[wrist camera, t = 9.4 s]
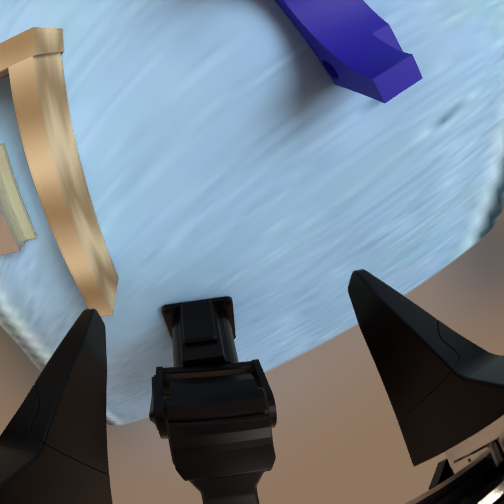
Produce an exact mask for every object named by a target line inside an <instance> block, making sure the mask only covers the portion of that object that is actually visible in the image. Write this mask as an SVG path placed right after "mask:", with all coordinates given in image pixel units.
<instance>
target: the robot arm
mask: <svg viewBox="0 0 504 504" xmlns="http://www.w3.org/2000/svg"><path fill="white" fill-rule="evenodd" d="M348 293H349V296H350V299H351V302H352V305H353V308H354V311H355V314H356V317H357V321H358V324H359V326H360V329H361V332H362V334H363V336H364V339H365V341H366V343H367V345H368V347H369V350H370V352H371V355H372V357H373V360H374V362H375V364H376V367H377V369H378V371H379V374H380V376H381V379H382V381H383V384H384V386H385V389H386V392H387V394H388V397H389V399H390V401H391V404H392V407H393V409H394V412H395V415H396V418H397V420H398V423H399V426H400V429H401V431H402V434H403V437H404V440H405V443H406V446H407V448H408V452H409V454H410V457H411V460H412V463H413V465H414V466H416V465H419V464H421V463H423V462H425V461H427V460H429V459H431V458H433V457H435V456H437V455H439V454H441V453H443V452H445V455H446V457H447V458H446V459H444V460H442V461H441V462H439V463H438V465H437V468H436V471H435V474H434V476H433V479H432V481H431V484H430V486H429V491H427V492H425V493H424V494H422V495H420V496H418V497H417V498H415V499H413V500H411V501H410V502H407V503H405V504H504V356H499V355H495V354H492V353H489V352H487V351H486V350H484V349H482V348H481V347H479V346H477V345H476V344H474V343H472V342H471V341H469V340H467V339H466V338H464V337H463V336H461V335H460V334H458V333H456V332H455V331H453V330H452V329H450V328H449V327H448V326H446V325H445V324H443V323H442V322H440V321H439V320H436V318H435V317H433V316H432V315H430V314H429V313H428V312H426V311H425V310H423V309H422V308H420V307H419V306H418V305H416V304H415V303H413V302H412V301H410V300H409V299H407V298H406V297H405V296H403V295H402V294H400V293H399V292H397V291H396V290H394V289H393V288H391V287H390V286H388V285H387V284H385V283H384V282H382V281H381V280H379V279H378V278H376V277H375V276H373V275H372V274H370V273H369V272H367V271H366V270H364V269H361V270H355V271H353V273H352V275H351V279H350V282H349V285H348ZM162 313H163V316H164V319H165V322H166V324H167V327H168V330H169V332H170V335H171V338H172V340H173V358H174V367H168V368H163V367H156V375H154V377H152V399H151V405H150V412H149V417H150V421H152V422H153V423H154V424H155V425H156V427H157V430H158V431H159V434H160V437H161V438H162V439H169V445H170V451H171V456H172V461H173V464H174V465H175V468H176V470H177V472H178V473H179V474H180V475H181V477H182V478H183V479H184V480H185V481H190V482H191V483H192V484H193V485H194V486H195V487H196V488H197V489H198V490H199V491H200V492H201V495H202V499H203V504H259V499H258V494H257V487H256V486H257V484H258V482H259V480H260V478H261V476H262V475H263V473H264V472H265V471H270V470H271V469H272V467H273V464H274V461H275V458H276V457H275V452H274V447H273V439H272V429H271V428H274V427H275V425H276V421H277V414H276V405H275V400H274V397H273V393H272V391H271V388H270V386H269V384H268V381H267V379H266V377H265V374H264V372H263V369H262V367H261V364H260V362H259V360H258V359H256V360H252V361H247V362H238V357H237V353H236V348H235V343H234V339H235V337H236V335H235V324H234V313H233V302H232V298H231V297H220V298H213V299H206V300H199V301H191V302H184V303H176V304H169V305H164V306H163V307H162ZM106 385H107V358H106V333H105V325H104V322H103V320H102V319H101V317H100V315H99V313H98V311H97V310H96V309H94V308H92V309H85V310H84V311H83V312H82V313H81V315H80V316H79V318H78V319H77V320H76V322H75V323H74V325H73V326H72V327H71V329H70V330H69V332H68V333H67V335H66V336H65V337H64V339H63V340H62V342H61V343H60V345H59V346H58V348H57V349H56V351H55V352H54V354H53V355H52V357H51V358H50V360H49V361H48V363H47V364H46V366H45V368H44V369H43V371H42V372H41V374H40V376H39V377H38V379H37V380H36V382H35V385H33V387H32V388H31V390H30V392H29V393H28V395H27V397H26V398H25V400H24V402H23V403H22V405H21V406H20V408H19V409H18V411H17V412H16V414H15V415H14V417H13V418H12V419H11V421H10V422H9V424H8V425H7V427H6V428H5V430H4V431H3V433H2V434H1V436H0V504H112V497H111V489H110V478H109V469H108V454H107V431H106Z"/></svg>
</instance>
